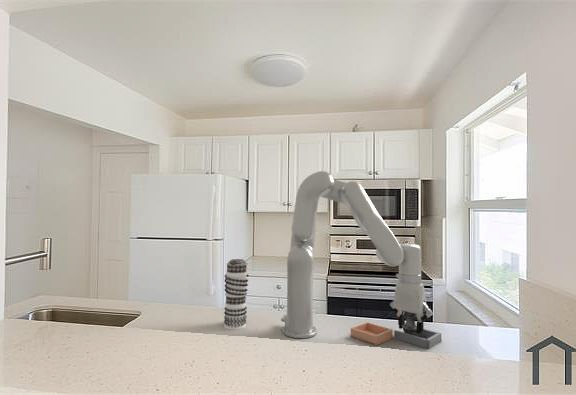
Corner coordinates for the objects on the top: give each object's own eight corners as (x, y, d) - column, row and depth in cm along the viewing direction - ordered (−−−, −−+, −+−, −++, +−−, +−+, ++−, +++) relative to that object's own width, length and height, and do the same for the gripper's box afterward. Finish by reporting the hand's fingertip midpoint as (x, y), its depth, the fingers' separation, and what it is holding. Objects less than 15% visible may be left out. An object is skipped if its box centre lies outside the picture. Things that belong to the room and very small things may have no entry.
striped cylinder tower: (229, 320, 125) (231, 257, 126) (250, 323, 122) (252, 259, 124) (218, 328, 116) (220, 260, 118) (241, 331, 113) (243, 261, 115)
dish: (350, 336, 110) (350, 328, 110) (367, 330, 117) (367, 321, 117) (376, 345, 102) (376, 336, 102) (392, 338, 109) (392, 329, 109)
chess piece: (421, 341, 107) (420, 305, 108) (403, 339, 108) (403, 304, 109) (417, 335, 113) (417, 301, 113) (400, 333, 114) (400, 300, 115)
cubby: (394, 338, 109) (394, 330, 109) (408, 331, 116) (408, 324, 117) (428, 348, 100) (428, 340, 101) (441, 340, 108) (441, 333, 108)
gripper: (383, 276, 115) (383, 326, 114) (429, 284, 103) (430, 340, 102) (393, 274, 121) (393, 322, 119) (439, 281, 108) (439, 334, 107)
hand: (410, 329), depth 110 cm, fingers closed on chess piece, 5 cm apart
